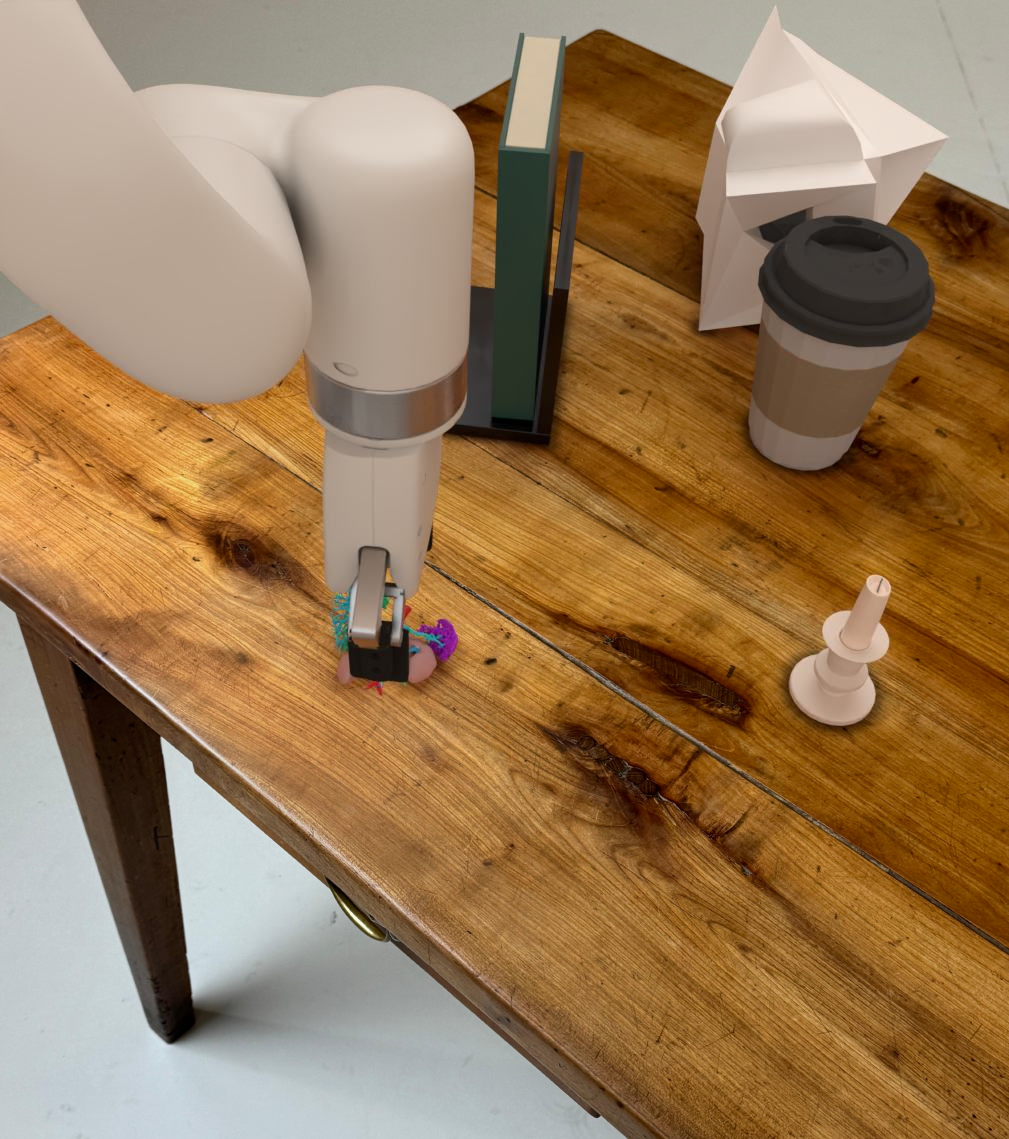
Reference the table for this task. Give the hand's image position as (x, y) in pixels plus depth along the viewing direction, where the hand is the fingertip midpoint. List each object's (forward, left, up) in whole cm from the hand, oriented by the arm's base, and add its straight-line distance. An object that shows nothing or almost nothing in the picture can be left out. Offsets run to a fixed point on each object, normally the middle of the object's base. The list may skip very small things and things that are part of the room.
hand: (393, 608), depth 73 cm
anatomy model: (0, 0, -5) cm, 5 cm away
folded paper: (+25, +47, -5) cm, 53 cm away
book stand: (+3, +29, -5) cm, 29 cm away
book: (+3, +29, +6) cm, 30 cm away
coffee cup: (+26, +25, -5) cm, 36 cm away
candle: (+27, +2, -5) cm, 27 cm away
